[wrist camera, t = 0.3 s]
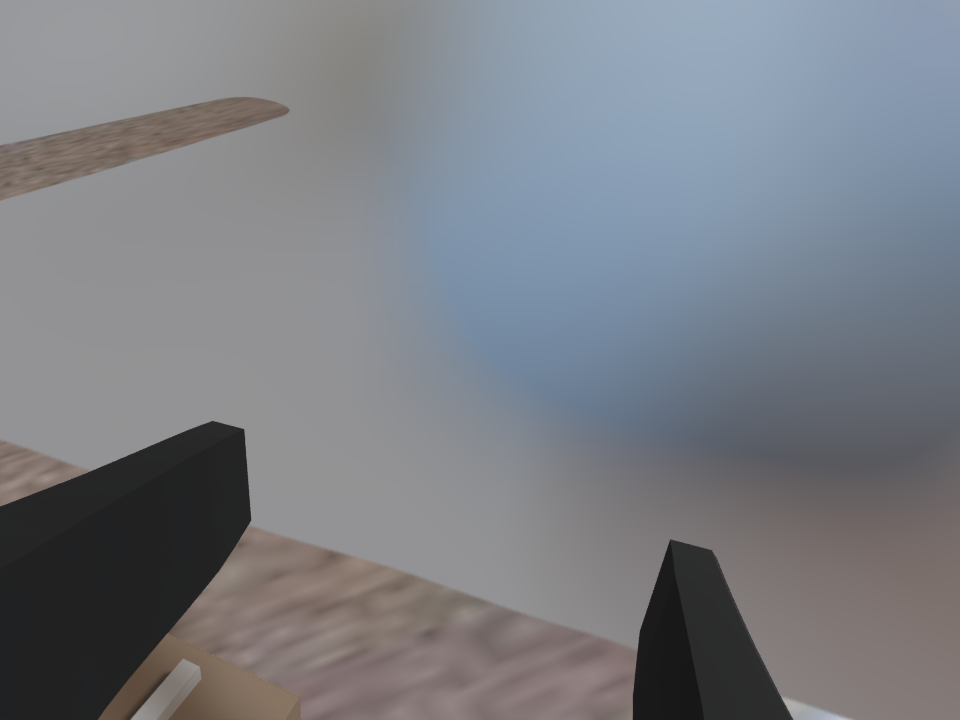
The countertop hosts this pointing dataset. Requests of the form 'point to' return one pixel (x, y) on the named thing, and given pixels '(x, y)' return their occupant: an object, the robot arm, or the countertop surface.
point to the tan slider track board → (197, 689)
